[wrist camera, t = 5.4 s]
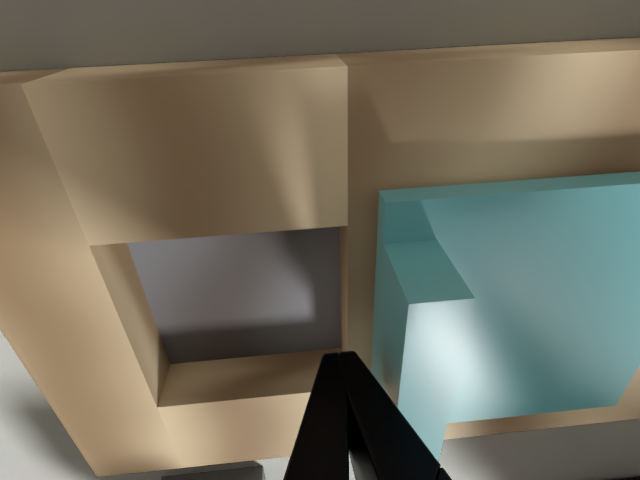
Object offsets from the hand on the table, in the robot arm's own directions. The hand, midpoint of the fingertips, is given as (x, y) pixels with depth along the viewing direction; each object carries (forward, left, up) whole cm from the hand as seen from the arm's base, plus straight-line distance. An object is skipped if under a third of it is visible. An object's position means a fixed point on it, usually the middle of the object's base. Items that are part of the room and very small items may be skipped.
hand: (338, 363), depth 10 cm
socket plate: (-2, 0, -3) cm, 4 cm away
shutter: (-5, 0, -1) cm, 5 cm away
